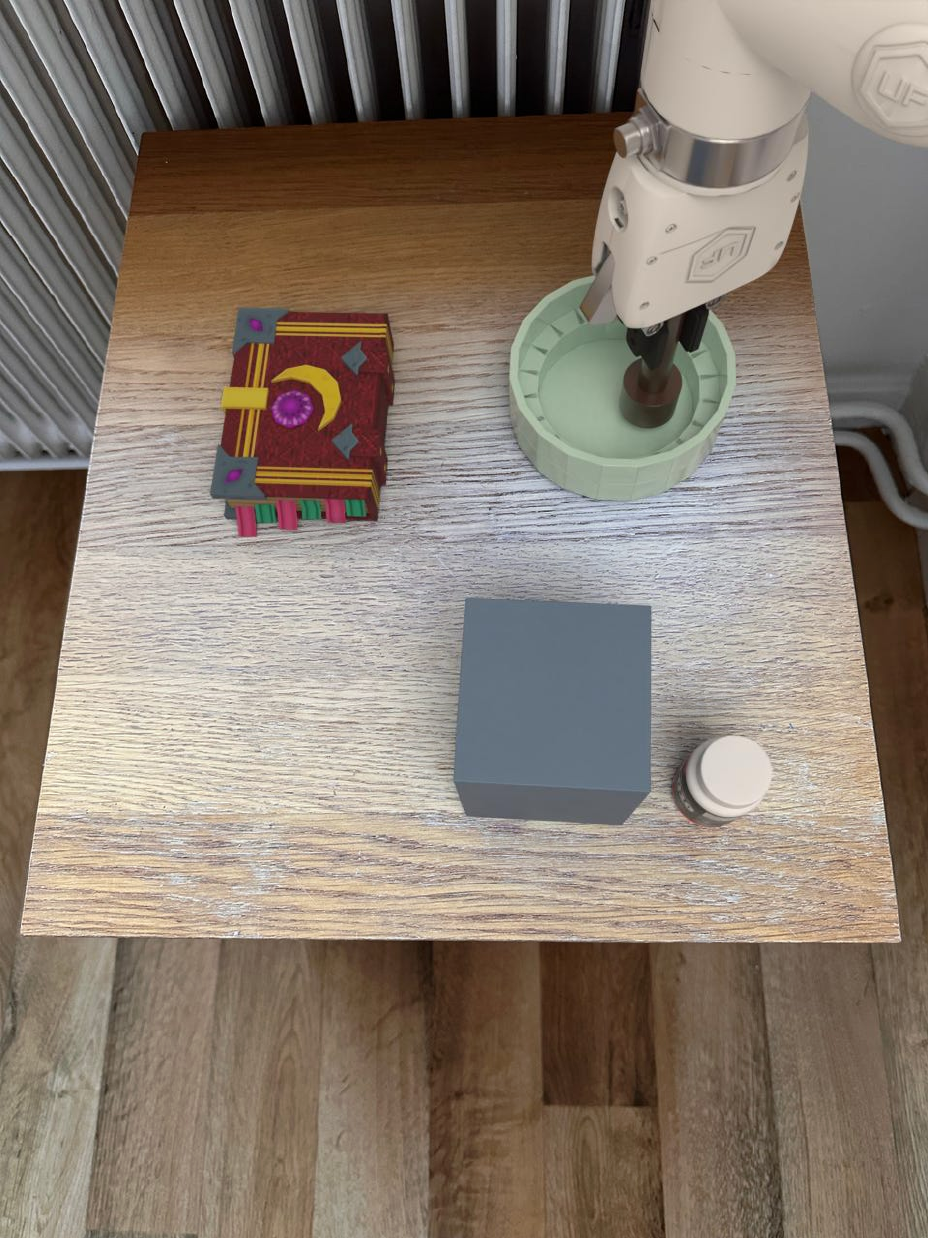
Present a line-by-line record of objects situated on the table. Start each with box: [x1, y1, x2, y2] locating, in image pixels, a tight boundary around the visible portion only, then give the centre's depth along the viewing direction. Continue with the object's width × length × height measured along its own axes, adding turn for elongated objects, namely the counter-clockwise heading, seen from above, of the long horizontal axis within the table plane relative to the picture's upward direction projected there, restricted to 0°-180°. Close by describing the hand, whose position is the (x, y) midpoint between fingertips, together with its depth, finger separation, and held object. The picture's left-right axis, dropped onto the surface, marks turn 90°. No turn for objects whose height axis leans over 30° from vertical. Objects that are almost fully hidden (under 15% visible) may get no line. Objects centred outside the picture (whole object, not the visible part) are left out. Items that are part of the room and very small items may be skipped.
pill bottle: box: [671, 734, 773, 829], centre depth 59 cm, size 5×5×8 cm
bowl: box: [508, 274, 737, 502], centre depth 69 cm, size 15×15×6 cm
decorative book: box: [209, 306, 396, 538], centre depth 70 cm, size 11×16×5 cm
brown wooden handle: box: [619, 312, 686, 429], centre depth 63 cm, size 4×4×13 cm
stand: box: [452, 597, 652, 826], centre depth 58 cm, size 10×10×14 cm
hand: (662, 341), depth 62 cm, fingers closed on brown wooden handle, 2 cm apart
